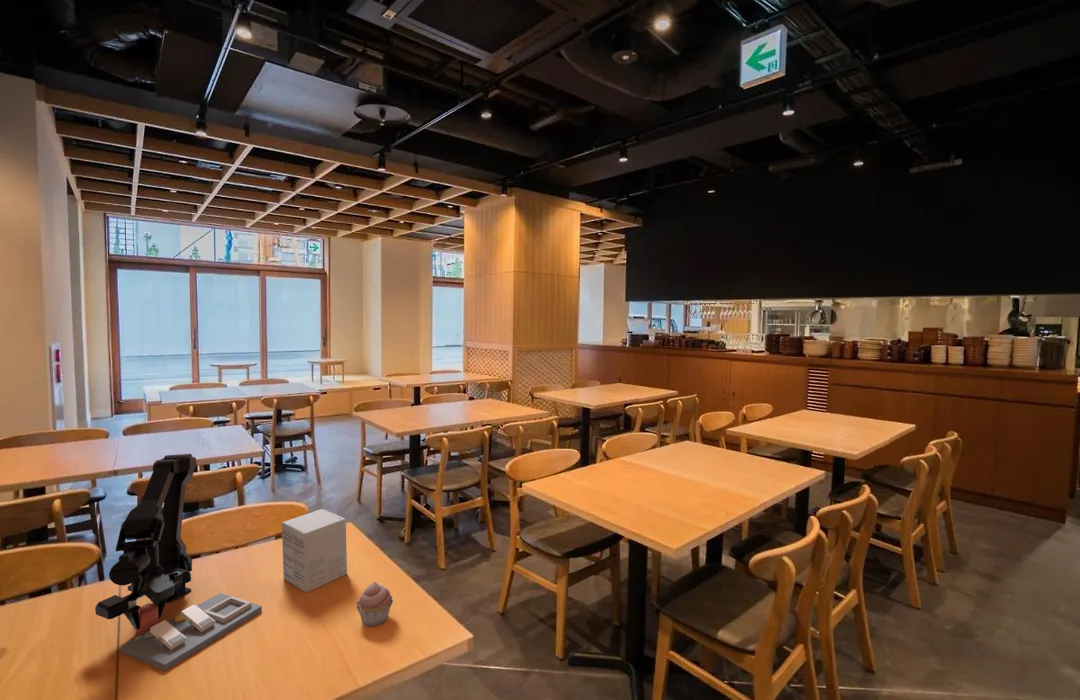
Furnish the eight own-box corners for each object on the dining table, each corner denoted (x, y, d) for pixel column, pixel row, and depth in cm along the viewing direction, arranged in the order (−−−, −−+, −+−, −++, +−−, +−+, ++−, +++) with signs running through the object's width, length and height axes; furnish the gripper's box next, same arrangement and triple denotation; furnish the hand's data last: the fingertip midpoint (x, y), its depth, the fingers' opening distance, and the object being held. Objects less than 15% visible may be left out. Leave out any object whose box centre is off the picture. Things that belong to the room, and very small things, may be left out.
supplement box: (323, 561, 160) (322, 507, 159) (348, 573, 152) (346, 518, 151) (282, 578, 149) (280, 521, 148) (306, 593, 142) (304, 533, 140)
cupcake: (401, 614, 132) (401, 578, 131) (376, 634, 124) (375, 596, 123) (374, 605, 136) (373, 570, 135) (348, 624, 128) (347, 587, 127)
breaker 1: (148, 632, 117) (149, 627, 117) (165, 623, 121) (166, 618, 121) (169, 651, 115) (170, 646, 114) (186, 640, 118) (187, 636, 118)
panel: (121, 652, 117) (120, 641, 117) (220, 598, 139) (220, 588, 139) (165, 671, 111) (164, 659, 111) (261, 611, 133) (261, 601, 133)
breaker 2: (179, 615, 124) (180, 611, 124) (194, 607, 127) (195, 603, 127) (200, 633, 121) (201, 628, 121) (215, 624, 125) (216, 619, 124)
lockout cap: (132, 631, 124) (131, 609, 124) (151, 621, 128) (150, 600, 128) (143, 635, 123) (142, 613, 122) (163, 625, 127) (162, 604, 126)
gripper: (121, 590, 113) (124, 656, 114) (203, 553, 130) (206, 611, 131) (92, 580, 117) (96, 643, 118) (175, 545, 134) (178, 601, 135)
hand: (147, 624), depth 126 cm, fingers closed on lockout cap, 4 cm apart
